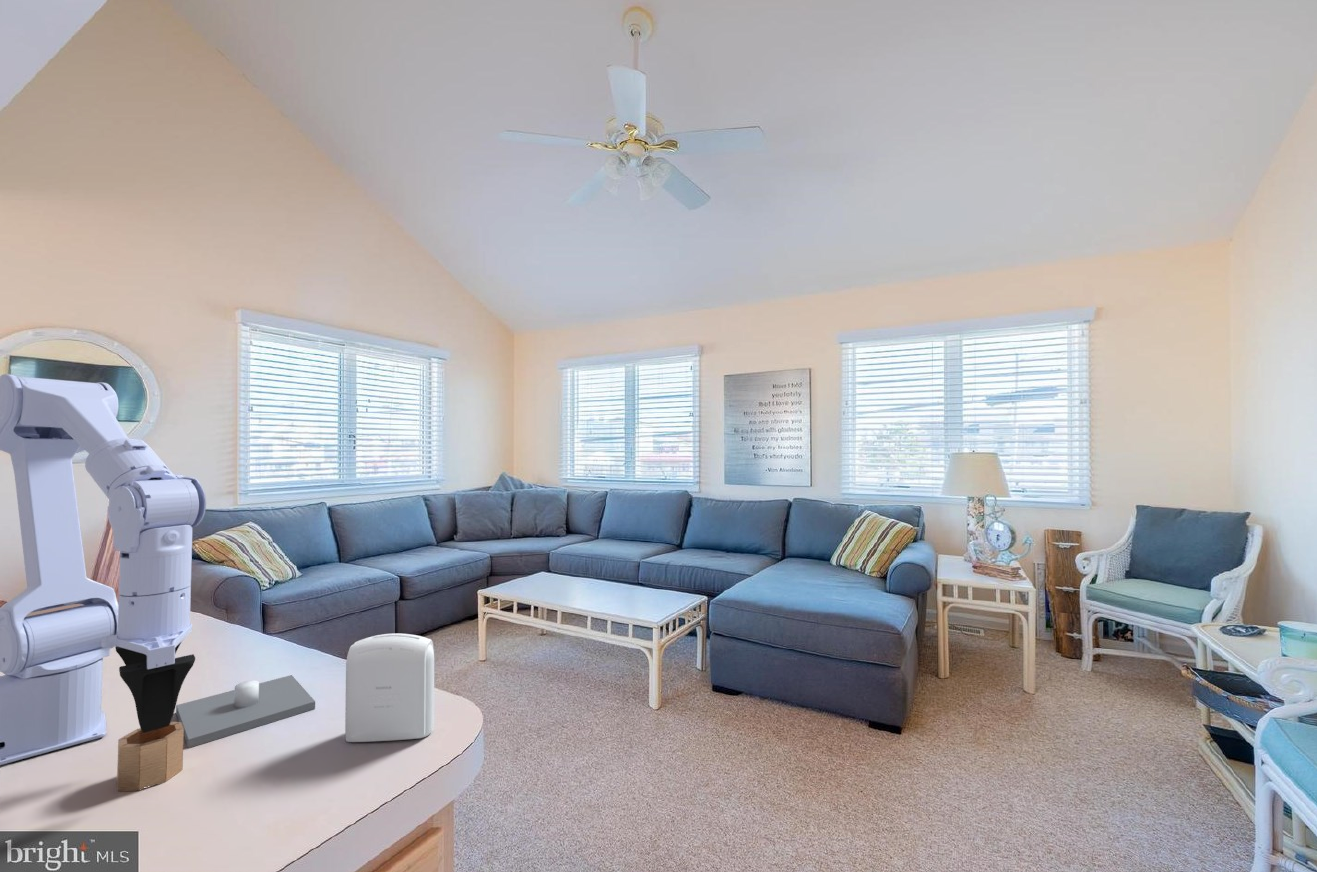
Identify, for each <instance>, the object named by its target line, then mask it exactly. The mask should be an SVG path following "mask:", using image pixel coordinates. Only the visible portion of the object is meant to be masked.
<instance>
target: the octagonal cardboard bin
mask: <svg viewBox="0 0 1317 872" xmlns="http://www.w3.org/2000/svg"><path fill="white" fill-rule="evenodd" d="M117 742H118V744H117V766H116V767H117V771H116V785H117V786H116V787H118V788H117V792H132V791H131V790H134V791H133V792H135V790H140V789H143V788H144V787H148V786H152V787H154V786H153V785H155V784H158V785H160V784H163V783H165V782H168V781H170V779H172V778H173V777H174V776H176V775H177V774H179V773H181V772H182V771H183V766H184V765H183V764H184V762H183V761H184V728H183V725H182V722H179V721H171V723H170V725H169V726H167V727H163V728H160V729H156V730H153V731H149V732H145V733H143V732H142V730H141V728H140V727H139V728H136V729H134V730H133V731H131V732H129V733H128V734H125V735H124V736H122V737H121V738H119V739H118V740H117ZM167 780H168V781H167ZM155 786H156V785H155ZM143 790H144V789H143ZM140 791H141V790H140Z"/></svg>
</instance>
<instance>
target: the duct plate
mask: <svg viewBox="0 0 1317 872" xmlns="http://www.w3.org/2000/svg"><path fill="white" fill-rule="evenodd" d="M315 709H316V701H315V699H314V698H313V697H312V696H311V695H310V694H309V693H308V691H307V690H306V689H305V688H304V687H303V685H301V683H300V682H299V681H298V680H297V679H296V678H295V677H294V676H293V675H292V674H291V675H286V676H282V677H278V678H275V679H270V680H268V681H263V682H260V681H259V680H246V681H243V682H240V683H239V682H238V683H237V684H236V685H234V689H233V690H230V691H226V692H222V693H217V694H214V695H210V696H207V697H202V698H199V699H195V700H191V701H186V702H182V703H179V704H176V707H175V714H176V717H177V719H178V722H182V725H183V728H184V735H183V738H184V740H185V742H186V745H187V748H188V749H190V748H193V747H196V746H199V745H202V744H207V743H210V742H213V741H215V740H219V739H222V738H225V737H229V736H232V735H235V734H238V733H242V732H245V731H248V730H251V729H255V728H258V727H260V726H263V725H267V724H271V723H274V722H276V721H277V722H278V721H280V720H283V719H286V718H290V717H292V716H296V715H299V714H302V713H306V712H308V711H309V712H310V711H312V710H315Z"/></svg>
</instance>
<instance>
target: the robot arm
mask: <svg viewBox="0 0 1317 872" xmlns="http://www.w3.org/2000/svg"><path fill="white" fill-rule="evenodd" d="M119 407H120V405H119V398H118V395H117V392H116V391H115V389H114V388H113V387H112V386H111V385H110V384H109V383H107V382H101V381H100V382H88V381H87V382H86V381H77V380H76V381H75V380H63V379H53V378H42V377H41V378H40V377H27V376H19V375H18V376H16V375H14V374H9V373H5V374H1V375H0V451H2V452H3V453H7V454H8V455H10V459H11V460H10V461H11V464H12V468H13V473H14V482H15V490H16V498H17V501H16V502H17V508H18V518H19V525H20V536H21V543H22V552H23V553H22V554H23V563H24V571H25V579H26V580H25V581H26V588H25V589H23V590H22V591H21V592H20V593H18V594H17V595H16V596H14V597H13V598H11V599H10V600H8V601H7V602H6V603H4V604H3V605H2V606H1V607H0V673H2V674H3V675H0V766H1V765H2V766H3V765H6V764H10V763H13V762H17V761H20V760H23V759H28V758H31V757H34V756H38V755H42V754H46V753H49V752H53V751H58V750H60V749H64V748H68V747H71V746H75V745H79V744H82V743H86V742H89V741H94V740H96V739H100V738H101V739H102V738H103V737H105V736H106V735H107V725H106V723H107V722H106V716H105V715H106V713H105V711H103V710H102V701H103V700H102V699H103V696H102V695H103V669H104V667H103V665H104V658H107V657H110V655H111V649H114V648H115V652H116V653H117V654H118V655H119V657H120V658H121V660H122V661H123V664H124V665H122V666H119V668H118V671H119V676H120V678H121V680H122V681H123V682H124V683H125V685H127V688H128V689H129V691H130V692H131V695H132V697H133V701H134V703H135V705H134V706H135V709H136V714H137V720H138V724H139V728H141V730H142V732H143V733H145V732H149V731H153V730H156V729H160V728H163V727H167V726H169V725H170V723H171V722H172V720H173V717H174V713H175V711H176V705H177V703H178V699H179V695H180V691H181V688H182V685H183V683H184V681H185V679H186V678H187V675H188V674H189V671H191V669H192V667H193V666H194V664H195V661H196V656H195V654H194V653H193V654H187V655H183V656H180V657H179V656H178V657H176V653H177V651H178V649H179V647H180V645H181V644H182V642H183V641H184V640H185V639H186V638H187V637H188V636H189V635H190V634H191V633H192V631H193V623H192V622H191V603H192V602H191V595H192V594H191V593H192V592H191V591H192V561H193V559H192V556H193V553H192V552H193V528H195V527H197V526H198V525H200V524H201V522H202V521H203V519H204V517H205V514H206V509H207V498H206V494H205V490H204V487H203V486H202V485H201V483H200V481H199V480H198V479H197V478H196V477H194V476H184V475H183V474H174V473H173V471H171V469H170V468H169V467H168V466H167V465H166V464H165V462H164V461H163V459H161V458H160V457H159V456H158V454H157V453H156V452H155V451H154V449H152V447H151V446H150V445H149V444H148V443H146V442H145V441H144V440H143V439H136V438H129V436H128V435H127V433H126V432H125V429H124V428H123V427H122V425H121V424H120V422H119V420H118V419H117V416H118V413H119ZM83 451H85V452H87V454H88V455H87V456H86V458H85V463H84V464H85V465H84V468H85V470H86V471H87V473H88V474H89V476H91V479H92V480H93V481H94V482H95V484H96V485H97V487H99V488H100V490H101V491H102V492H103V494H104V495H105V497H107V499H108V500H109V501H108V506H107V518H108V521H109V524H110V527H111V530H112V537H113V538H112V539H113V540H112V543H113V544H112V545H113V546H114V550H115V551H118V552H119V576H118V577H119V579H118V580H119V581H118V599H117V594H116V592H115V589H114V588H113V587H111V586H108V585H107V584H103V583H100V582H98V581H95V580H94V579H91V578H88V577H87V570H86V562H85V561H86V560H85V555H84V548H83V547H84V546H83V538H82V531H81V524H80V515H79V508H78V506H79V505H78V500H77V492H76V491H77V490H76V484H75V476H74V467H73V458H74V457H75V455H76V454H78V453H81V452H83ZM72 605H78V606H73V607H69V608H64V609H59V610H58V609H57V610H54V611H53V610H52V609H56V608H63V607H66V606H72ZM46 610H52V611H48V612H43V613H39V614H34V615H29V614H30V613H36V612H42V611H46ZM28 615H29V616H28Z"/></svg>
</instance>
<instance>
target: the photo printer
mask: <svg viewBox="0 0 1317 872" xmlns="http://www.w3.org/2000/svg"><path fill="white" fill-rule="evenodd" d="M344 712H345V716H344V717H345V720H344V721H345V722H344V724H345V727H344V728H345V729H344V730H345V733H344V735H345V741H346V742H347V743H366V742H385V741H389V742H390V741H403V740H414V739H423V738H426V737H427V736H429V735H431V734H432V732H433V731H434V728H435V651H434V642H433V640H432V639H431V638H428V637H424V636H421V635H416V634H410V633H384V634H377V635H372V636H370V637H366V638H362V639H359V640H357V641H355V642H354V643H353V644H352V645H350V647H349V650H348V652H347V657H346V661H345V711H344Z"/></svg>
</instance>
